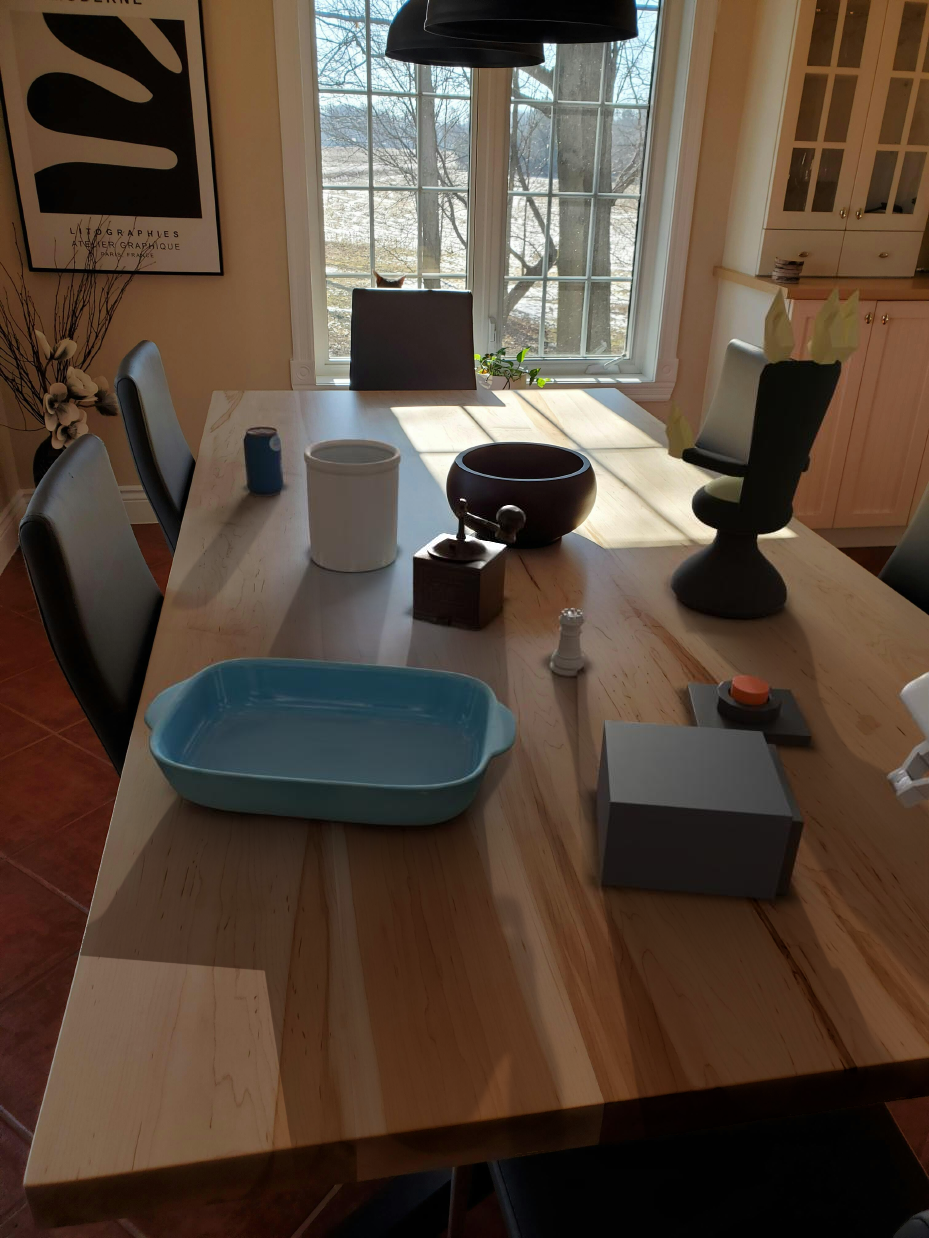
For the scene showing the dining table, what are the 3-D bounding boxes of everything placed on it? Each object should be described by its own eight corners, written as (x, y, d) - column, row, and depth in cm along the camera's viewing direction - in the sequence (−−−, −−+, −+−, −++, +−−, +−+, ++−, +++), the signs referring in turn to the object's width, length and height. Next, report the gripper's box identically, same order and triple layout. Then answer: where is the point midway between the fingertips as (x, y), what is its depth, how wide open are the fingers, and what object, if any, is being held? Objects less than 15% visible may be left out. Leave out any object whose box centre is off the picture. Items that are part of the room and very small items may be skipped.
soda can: (291, 492, 174) (287, 430, 169) (261, 499, 170) (256, 437, 164) (270, 484, 178) (265, 424, 173) (240, 491, 174) (235, 429, 169)
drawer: (773, 812, 87) (788, 745, 83) (801, 896, 76) (819, 823, 73) (620, 800, 88) (628, 733, 84) (627, 881, 78) (637, 808, 74)
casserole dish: (516, 723, 101) (519, 668, 98) (509, 856, 81) (512, 791, 78) (196, 703, 104) (190, 648, 101) (113, 827, 84) (101, 764, 81)
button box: (787, 705, 106) (793, 676, 105) (808, 753, 98) (815, 722, 96) (684, 698, 107) (689, 669, 106) (695, 744, 98) (700, 713, 97)
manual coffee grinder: (407, 620, 125) (407, 496, 117) (439, 591, 134) (441, 474, 126) (513, 642, 119) (520, 514, 112) (538, 610, 129) (547, 489, 121)
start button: (763, 689, 103) (765, 676, 102) (770, 708, 99) (773, 694, 98) (727, 687, 103) (729, 674, 102) (733, 705, 99) (735, 691, 99)
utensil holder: (386, 536, 154) (385, 435, 146) (413, 568, 141) (413, 459, 134) (301, 545, 149) (295, 441, 141) (320, 579, 137) (315, 467, 129)
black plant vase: (748, 568, 145) (801, 270, 125) (839, 628, 126) (919, 287, 106) (643, 580, 139) (681, 270, 120) (722, 644, 120) (783, 288, 101)
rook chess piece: (560, 681, 110) (565, 622, 107) (543, 664, 114) (547, 607, 111) (591, 674, 112) (597, 617, 109) (573, 658, 116) (578, 602, 112)
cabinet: (745, 814, 88) (762, 731, 84) (772, 907, 76) (793, 816, 72) (595, 802, 89) (604, 719, 85) (600, 891, 78) (610, 801, 73)
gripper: (973, 620, 81) (841, 706, 86) (1093, 749, 63) (916, 848, 68) (1011, 666, 83) (878, 748, 88) (1139, 804, 64) (962, 897, 70)
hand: (895, 793), depth 78 cm, fingers closed
